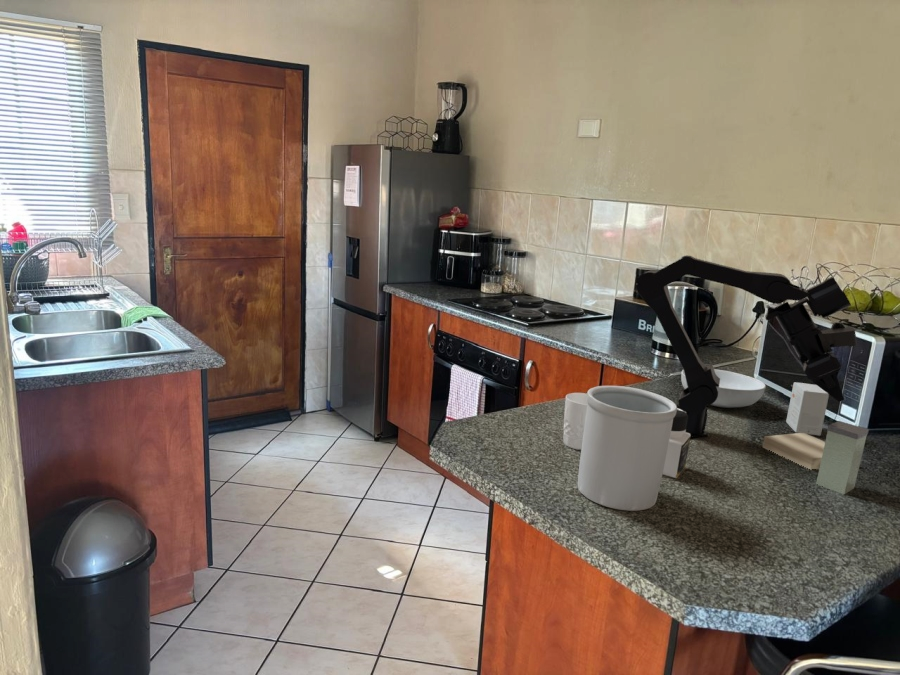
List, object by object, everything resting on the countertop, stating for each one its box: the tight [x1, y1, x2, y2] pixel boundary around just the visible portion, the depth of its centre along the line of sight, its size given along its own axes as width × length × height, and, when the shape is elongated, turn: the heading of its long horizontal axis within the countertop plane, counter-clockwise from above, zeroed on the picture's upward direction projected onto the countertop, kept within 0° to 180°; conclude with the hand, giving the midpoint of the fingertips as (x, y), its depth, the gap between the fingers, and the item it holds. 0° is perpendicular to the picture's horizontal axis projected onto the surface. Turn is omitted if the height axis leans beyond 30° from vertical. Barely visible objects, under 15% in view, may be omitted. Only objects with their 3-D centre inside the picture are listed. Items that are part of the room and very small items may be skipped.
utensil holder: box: [577, 385, 677, 512], centre depth 113 cm, size 15×15×18 cm
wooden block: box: [762, 432, 825, 471], centre depth 140 cm, size 12×12×3 cm
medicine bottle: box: [662, 408, 692, 479], centre depth 126 cm, size 7×7×12 cm
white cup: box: [562, 392, 588, 451], centre depth 135 cm, size 8×8×10 cm
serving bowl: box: [680, 368, 767, 409], centre depth 173 cm, size 21×21×7 cm
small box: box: [785, 381, 830, 437], centre depth 157 cm, size 8×6×10 cm
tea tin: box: [815, 420, 869, 495], centre depth 124 cm, size 5×5×12 cm
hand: (838, 394), depth 135 cm, fingers open, 9 cm apart
